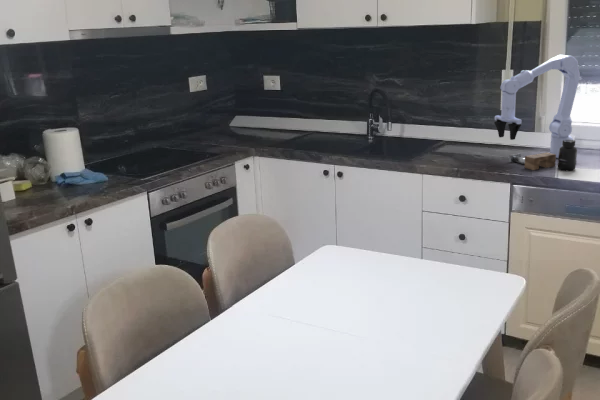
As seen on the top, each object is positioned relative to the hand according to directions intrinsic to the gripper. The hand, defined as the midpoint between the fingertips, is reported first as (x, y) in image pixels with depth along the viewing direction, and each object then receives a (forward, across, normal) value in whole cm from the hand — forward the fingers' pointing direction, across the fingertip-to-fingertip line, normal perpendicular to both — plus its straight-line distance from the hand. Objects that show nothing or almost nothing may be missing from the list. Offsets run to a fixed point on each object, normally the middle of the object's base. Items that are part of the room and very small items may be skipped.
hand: (506, 138), depth 275 cm
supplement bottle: (+10, +28, +6) cm, 30 cm away
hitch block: (+9, +19, 0) cm, 21 cm away
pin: (+10, +10, 0) cm, 14 cm away
